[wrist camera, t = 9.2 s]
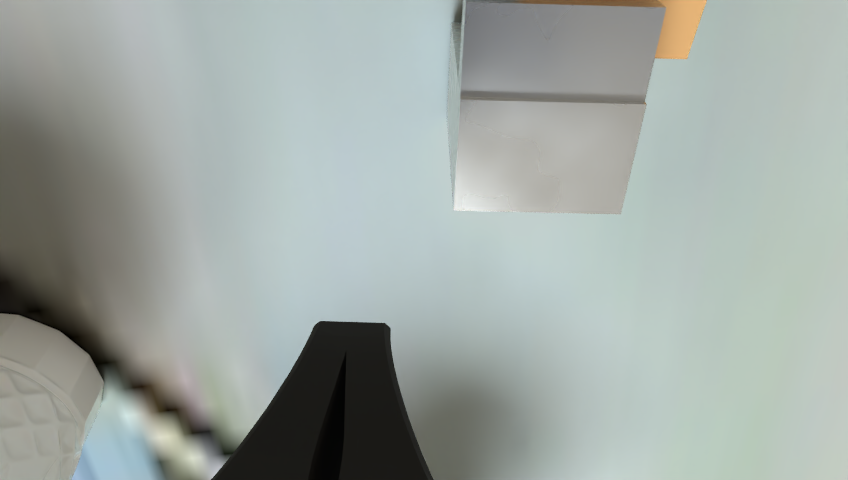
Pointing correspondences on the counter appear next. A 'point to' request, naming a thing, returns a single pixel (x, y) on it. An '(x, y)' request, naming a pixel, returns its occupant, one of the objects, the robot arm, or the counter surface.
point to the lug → (548, 102)
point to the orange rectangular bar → (679, 28)
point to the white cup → (43, 400)
